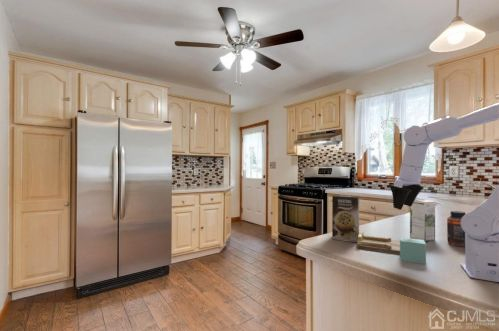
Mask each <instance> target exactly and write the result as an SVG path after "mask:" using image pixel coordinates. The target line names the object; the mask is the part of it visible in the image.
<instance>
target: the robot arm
mask: <svg viewBox="0 0 499 331" xmlns="http://www.w3.org/2000/svg"><path fill="white" fill-rule="evenodd" d="M496 121H499V102H498V103H495V104H492V105H489V106H487V107H484V108H480V109H479V110H475V111H472V112H471V113H468V114H465V115H461V116H459V117H456V116H454V115H445V114H444V115H441V116H440V117H439V119H436V120H433V121H431V122H422V125H421V126H419V125H411V127H408V128H407V129H405V131H404V133H403V141H404V142H405V146H404V151H403V155H402V158H401V159H402V160H401V164H400V168H399V173H398V175H395V176H394V179H395V180H394V184H393V183H392V184H390V186H389V189H390V191H391V193H392V195H391V196H392V205H393V209H396V210H400V211H401V210H402V209H403V207H404V206H406V207H407V206H408V207H409V208H410V207H411V206H412V204H413V202H414V201H415V200H417V199H416V198H417V197H418V195H419V194H420V193H421V192H422V190H423V189H424V187H425V186H423V185H421V182H422V178H421V177H422V172H423V167H424V164H425V159H426V156H427V155H426V154H427V151H428V147H429V146H430V145H431V144H432V143H435V142H438V141H442V140H445V139H449V138H453V137H457V136H459V135H460V134H461V133H462V132H463V130H464V129H468V128H472V127H475V126H480V125H484V124H488V123H492V122H496ZM461 227H462V229H463V230H464V232H465V248H464V249H465V251H464V253H465V259H464V260H465V263H464V262H463V263H462V262H460V266H461V267H462V268H463V270H464V272H466V274H467V275H468V277H469V278H470V279H471V278H472V279H477V280H484V281H489V282H495V283H496V282H497V283H499V184H498V185H497V186H496V188H495V189H494V190H493V191H492V192H491V194H490V195H489V196H488V197H487V199H485V200H483V201H482V202H481V203H480V204H478V205H477V206H476V207H475V208H474V209H473V210H472V211H470V212H467V213H465V215H464V216H463V217H462V219H461Z"/></svg>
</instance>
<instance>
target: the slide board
mask: <svg viewBox="0 0 499 331" xmlns="http://www.w3.org/2000/svg"><path fill="white" fill-rule="evenodd" d="M357 249H360V250H368V251H374V252H381V253H389V254H395V255H400V240H394V239H392V237H382V236H375V235H374V236H372V235H367V234H365V235H364V230H359V235H358V242H357Z"/></svg>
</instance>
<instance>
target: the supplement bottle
mask: <svg viewBox="0 0 499 331" xmlns="http://www.w3.org/2000/svg"><path fill="white" fill-rule="evenodd" d="M465 214H466V211H462V210H461V211H460V210H451V211H450V216H449V217H447V220H446V223H447V224H446V226H447V227H446V229H447V230H446V232H447V236H446V237H447V238H446V239H447V243H448V244H449V245H452V246H456V247H462V248H463V247H465V232H464V230H463V229H462V227H461V219H462V217H463V216H464V215H465Z"/></svg>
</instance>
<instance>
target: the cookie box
mask: <svg viewBox="0 0 499 331" xmlns="http://www.w3.org/2000/svg"><path fill="white" fill-rule="evenodd" d="M331 199H332V201H331V202H332V204H331V205H332V209H331V210H332V212H331V214H332V217H331V218H332V221H331V222H332V224H331V226H332V228H331V229H332V230H331V231H332V233H331V239H332V240H336V241H344V242H351V243H352V242H354V243H358V235H359V233H360V196H359V195H346V194H345V195H344V194H334V195H332V198H331Z"/></svg>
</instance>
